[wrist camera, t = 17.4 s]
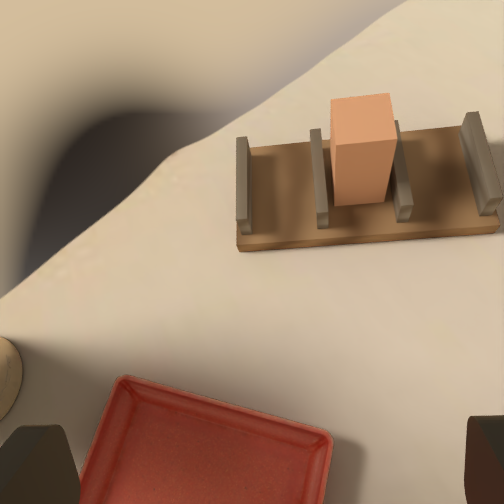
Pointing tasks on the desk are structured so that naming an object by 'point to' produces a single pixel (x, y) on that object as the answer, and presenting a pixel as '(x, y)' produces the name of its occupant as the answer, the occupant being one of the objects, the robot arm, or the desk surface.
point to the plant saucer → (199, 452)
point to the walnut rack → (372, 214)
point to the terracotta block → (361, 148)
